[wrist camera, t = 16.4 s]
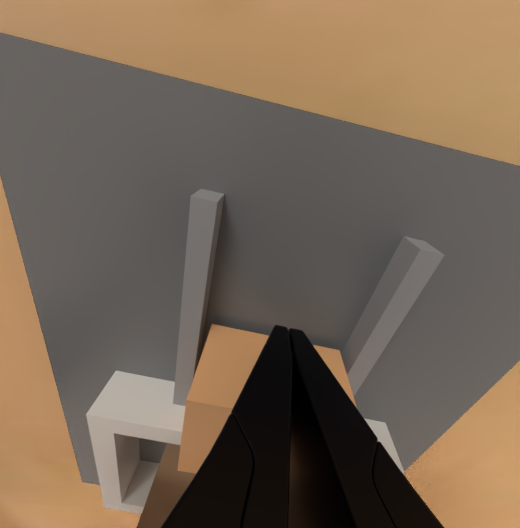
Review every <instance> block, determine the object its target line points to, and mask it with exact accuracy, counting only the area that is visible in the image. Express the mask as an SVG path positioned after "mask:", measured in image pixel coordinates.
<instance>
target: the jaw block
mask: <svg viewBox="0 0 520 528" xmlns="http://www.w3.org/2000/svg"><path fill="white" fill-rule="evenodd" d="M180 446H181V445H177V444H171V443H167V444H166V447H165V449H164V452H163V455H162V458H161V461H160V464H159V466H158V469H157V472H156V475H155V478H154V480H153V483H152V486H151V489H150V492H149V495H148V497H147V500H146V503H145V506H144V509H143V512H142V514H141V517H140V520H139V523H138V526H137V528H160V527H161V526H162V524H163V523H164V521H165V520H166V518H167V517H168V515H169V514H170V512H171V511H172V509H173V508H174V506H175V505H176V503H177V502H178V500H179V499H180V497H181V496H182V494H183V493H184V491H185V490H186V488H187V487H188V485H189V484H190V482H191V481H192V479H193V478H194V476H195V475H196V474H195V473H189V472H183V471H177V470H178V462H179V454H180Z"/></svg>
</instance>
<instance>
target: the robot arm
mask: <svg viewBox="0 0 520 528" xmlns="http://www.w3.org/2000/svg"><path fill="white" fill-rule="evenodd" d="M160 528H444V527H443V526H442V524H441V523H440V522H439V521H438V519H437V518H436V517H435V515H434V514H433V513H432V511H431V510H430V509H429V508H428V506H427V505H426V504H425V502H424V501H423V500H422V499H421V497H420V496H419V495H418V493H417V492H416V491H415V489H414V488H413V487H412V485H411V484H410V483H409V481H408V480H407V479H406V477H405V476H404V474H403V473H402V472H401V470H400V469H399V468H398V466H397V465H396V463H395V462H394V461H393V459H392V458H391V456H390V455H389V453H388V452H387V451H386V449H385V448H384V446H383V445H382V443H381V442H379V441H378V438H377V436H376V435H375V434H374V432H373V431H372V429H371V428H370V426H369V425H368V424H367V422H366V421H365V419H364V418H363V416H362V415H361V413H360V412H359V411H358V409H357V408H356V406H355V405H354V403H353V402H352V401H351V399H350V398H349V396H348V395H347V393H346V392H345V391H344V389H343V388H342V386H341V385H340V383H339V382H338V380H337V379H336V378H335V376H334V375H333V373H332V372H331V370H330V369H329V368H328V366H327V365H326V363H325V362H324V360H323V359H322V357H321V356H320V355H319V353H318V352H317V350H316V349H315V347H314V346H313V345H312V343H311V342H310V340H309V339H308V337H307V336H306V335H305V333H304V332H303V331H302V330H299V329H294V328H290V329H289V330H288V328H287V327H285V326H280V325H275V326H274V327H273V329H272V331H271V333H270V335H269V337H268V339H267V341H266V343H265V345H264V347H263V349H262V351H261V353H260V355H259V357H258V359H257V361H256V363H255V365H254V367H253V369H252V371H251V373H250V375H249V377H248V379H247V381H246V383H245V385H244V387H243V389H242V391H241V393H240V395H239V397H238V399H237V401H236V403H235V405H234V407H233V409H232V411H231V414H230V415H229V416H228V418H227V420H226V422H225V424H224V426H223V428H222V430H221V432H220V434H219V436H218V438H217V439H216V441H215V443H214V445H213V447H212V449H211V450H210V452H209V454H208V455H207V457H206V459H205V460H204V462H203V463H202V465H201V467H200V468H199V470H198V471H197V473H196V475H195V476H194V478H193V479H192V481H191V482H190V484H189V485H188V487H187V488H186V490H185V491H184V493H183V494H182V496H181V497H180V499H179V500H178V502H177V503H176V505H175V506H174V508H173V509H172V511H171V512H170V514H169V515H168V517H167V518H166V520H165V521H164V523H163V524H162V526H161V527H160Z"/></svg>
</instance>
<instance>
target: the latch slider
mask: <svg viewBox="0 0 520 528" xmlns="http://www.w3.org/2000/svg"><path fill="white" fill-rule="evenodd" d="M268 337H269V336H268V335H263V334H259V333H254V332H249V331H244V330H239V329H234V328H230V327H225V326H220V325H215V324H212V325H211V328H210V331H209V334H208V337H207V340H206V343H205V346H204V349H203V352H202V355H201V358H200V361H199V364H198V367H197V370H196V373H195V376H194V379H193V382H192V385H191V387H190V390H189V393H188V396H187V399H186V406H185V414H184V422H183V430H182V438H181V446H180V454H179V462H178V470H177V471H183V472H189V473H195V474H196V473H197V471H198V470H199V468H200V467H201V465H202V463H203V462H204V460H205V459H206V457H207V455H208V454H209V452H210V450H211V449H212V447H213V445H214V443H215V441H216V439H217V438H218V436H219V434H220V432H221V430H222V428H223V426H224V424H225V422H226V420H227V418H228V416H229V415H230V414H231V411H232V409H233V407H234V405H235V403H236V401H237V399H238V397H239V395H240V393H241V391H242V389H243V387H244V385H245V383H246V381H247V379H248V377H249V375H250V373H251V371H252V369H253V367H254V365H255V363H256V361H257V359H258V357H259V355H260V353H261V351H262V349H263V347H264V345H265V343H266V341H267V339H268ZM313 346H314V347H315V349H316V350H317V352H318V353H319V355H320V356H321V357H322V359H323V360H324V362H325V363H326V365H327V366H328V368H329V369H330V370H331V372H332V373H333V375H334V376H335V378H336V379H337V380H338V382H339V383H340V385H341V386H342V388H343V389H344V391H345V392H346V393H347V395H348V396H349V398H350V399H351V401H352V402H353V403H354V405H355V406H356V403H355V400H354V397H353V393H352V390H351V387H350V383H349V380H348V377H347V373H346V370H345V367H344V363H343V360H342V357H341V353H340V350H336V349H331V348H326V347H321V346H317V345H313ZM356 408H357V407H356Z"/></svg>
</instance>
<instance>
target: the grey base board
mask: <svg viewBox="0 0 520 528" xmlns="http://www.w3.org/2000/svg"><path fill="white" fill-rule="evenodd" d="M0 176H1V179H2V183H3V187H4V191H5V194H6V198H7V202H8V206H9V209H10V213H11V217H12V220H13V224H14V228H15V232H16V235H17V239H18V243H19V247H20V250H21V254H22V258H23V262H24V265H25V269H26V273H27V277H28V280H29V284H30V288H31V292H32V295H33V299H34V303H35V307H36V310H37V314H38V318H39V322H40V325H41V329H42V333H43V336H44V340H45V344H46V348H47V351H48V355H49V359H50V363H51V366H52V370H53V374H54V378H55V381H56V385H57V389H58V393H59V396H60V400H61V404H62V408H63V411H64V415H65V419H66V423H67V426H68V430H69V434H70V438H71V441H72V445H73V449H74V452H75V456H76V460H77V464H78V467H79V471H80V475H81V479H82V482H86V483H92V484H98V485H100V488H101V493H102V498H103V504H104V508H108V509H114V510H120V511H126V512H133V513H139V514H142V512H143V509H144V506H145V503H146V500H147V497H148V495H149V492H150V489H151V486H152V483H153V480H154V478H155V475H156V472H157V469H158V466H159V464H160V461H161V458H162V455H163V452H164V449H165V447H166V444H167V443H171V444H177V445H181V438H182V430H183V422H184V414H185V406H186V399H187V396H188V393H189V390H190V387H191V385H192V382H193V379H194V376H195V373H196V370H197V367H198V364H199V361H200V358H201V355H202V352H203V349H204V346H205V343H206V340H207V337H208V334H209V331H210V328H211V325H212V324H215V325H220V326H225V327H230V328H234V329H239V330H244V331H249V332H254V333H259V334H263V335H268V336H269V335H270V333H271V331H272V329H273V327H274V326H275V325H280V326H285V327H287V328H288V330H289V329H290V328H294V329H299V330H302V331H303V332H304V333H305V335H306V336H307V337H308V339H309V340H310V342H311V343H312V345H317V346H321V347H326V348H331V349H336V350H340V353H341V357H342V360H343V363H344V367H345V370H346V373H347V377H348V380H349V383H350V387H351V390H352V393H353V397H354V400H355V403H356V407H357V409H358V411H359V412H360V413H361V415H362V416H363V418H364V419H365V421H366V422H367V424H368V425H369V426H370V428H371V429H372V431H373V432H374V434H375V435H376V436H377V438H378V441H379V442H381V443H382V445H383V446H384V448H385V449H386V451H387V452H388V453H389V455H390V456H391V458H392V459H393V461H394V462H395V463H396V465H397V466H398V468H399V469H400V470H401V472H402V473H403V474H404V473H405V472H404V471H405V470H406V469H407V468H408V467H409V466H410V465H411V464H412V463H413V462H414V461H416V460H417V459H418V458H419V457H420V456H421V455H422V454H423V453H424V452H425V451H426V450H427V449H428V448H429V447H430V446H431V445H432V444H433V443H434V442H435V441H436V440H437V439H438V438H439V437H440V436H441V435H443V434H444V433H445V432H446V431H447V430H448V429H449V428H450V427H451V426H452V425H453V424H454V423H455V422H456V421H457V420H458V419H459V418H460V417H461V416H462V415H463V414H464V413H465V412H466V411H467V410H469V409H470V408H471V407H472V406H473V405H474V404H475V403H476V402H477V401H478V400H479V399H480V398H481V397H482V396H483V395H484V394H485V393H486V392H487V391H488V390H489V389H490V388H491V387H492V386H493V385H494V384H496V383H497V382H498V381H499V380H500V379H501V378H502V377H503V376H504V375H505V374H506V373H507V372H508V371H509V370H510V369H511V368H512V367H513V366H514V365H515V364H516V363H517V362H518V361H519V360H520V166H517V165H513V164H509V163H505V162H501V161H497V160H493V159H489V158H486V157H482V156H478V155H474V154H470V153H466V152H462V151H458V150H455V149H451V148H447V147H443V146H439V145H435V144H431V143H427V142H423V141H420V140H416V139H412V138H408V137H404V136H400V135H396V134H392V133H388V132H385V131H381V130H377V129H373V128H369V127H365V126H361V125H357V124H353V123H350V122H346V121H342V120H338V119H334V118H330V117H326V116H322V115H318V114H315V113H311V112H307V111H303V110H299V109H295V108H291V107H287V106H283V105H280V104H276V103H272V102H268V101H264V100H260V99H256V98H252V97H249V96H245V95H241V94H237V93H233V92H229V91H225V90H221V89H217V88H214V87H210V86H206V85H202V84H198V83H194V82H190V81H186V80H182V79H179V78H175V77H171V76H167V75H163V74H159V73H155V72H151V71H147V70H144V69H140V68H136V67H132V66H128V65H124V64H120V63H116V62H112V61H109V60H105V59H101V58H97V57H93V56H89V55H85V54H81V53H78V52H74V51H70V50H66V49H62V48H58V47H54V46H50V45H46V44H43V43H39V42H35V41H31V40H27V39H23V38H19V37H15V36H11V35H8V34H4V33H0Z"/></svg>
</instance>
